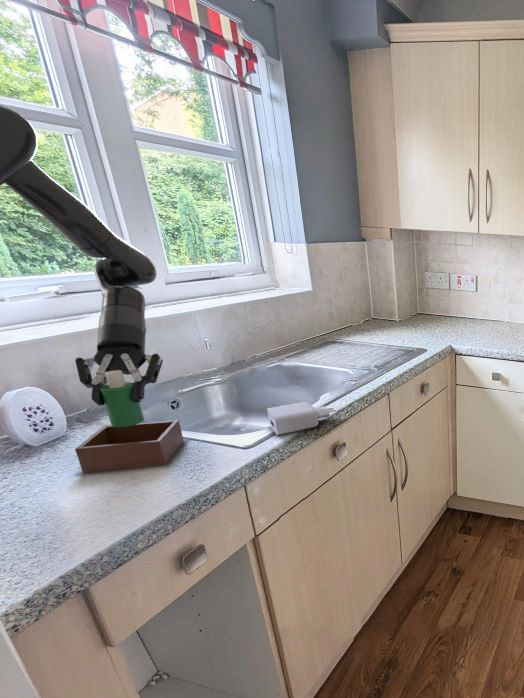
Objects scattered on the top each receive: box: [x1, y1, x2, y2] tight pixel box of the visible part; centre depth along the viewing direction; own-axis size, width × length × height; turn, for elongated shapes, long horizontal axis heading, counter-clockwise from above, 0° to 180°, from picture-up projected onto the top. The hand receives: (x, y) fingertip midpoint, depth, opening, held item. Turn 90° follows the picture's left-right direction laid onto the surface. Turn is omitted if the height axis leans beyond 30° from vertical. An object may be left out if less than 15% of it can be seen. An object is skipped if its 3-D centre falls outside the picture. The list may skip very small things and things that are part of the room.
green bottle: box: [100, 370, 145, 427], centre depth 93 cm, size 5×5×11 cm
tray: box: [74, 419, 185, 474], centre depth 96 cm, size 14×12×5 cm
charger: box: [266, 401, 337, 436], centre depth 116 cm, size 5×9×15 cm
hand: (118, 402), depth 91 cm, fingers closed on green bottle, 5 cm apart
